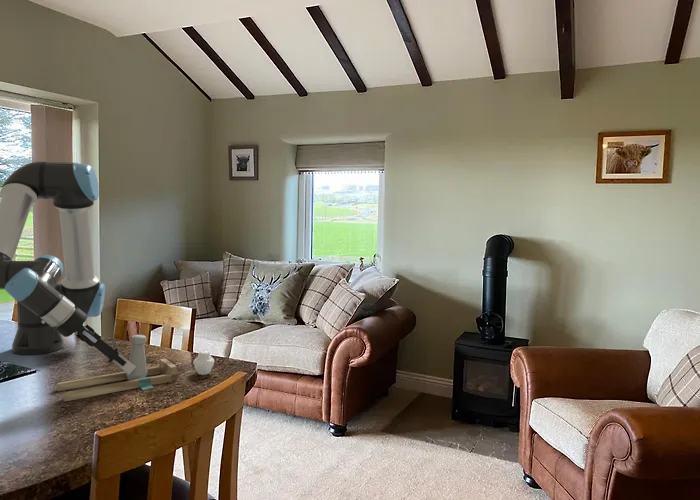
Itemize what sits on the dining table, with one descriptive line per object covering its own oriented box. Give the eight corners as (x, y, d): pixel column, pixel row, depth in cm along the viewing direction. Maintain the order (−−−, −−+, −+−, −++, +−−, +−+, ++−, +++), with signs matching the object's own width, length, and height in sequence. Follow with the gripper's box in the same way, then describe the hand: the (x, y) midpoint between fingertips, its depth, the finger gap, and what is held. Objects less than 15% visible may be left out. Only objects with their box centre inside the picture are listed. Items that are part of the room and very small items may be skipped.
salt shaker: (142, 384, 146) (144, 338, 145) (121, 382, 146) (124, 336, 145) (150, 378, 152) (152, 334, 151) (130, 377, 151) (132, 333, 151)
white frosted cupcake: (216, 374, 156) (216, 352, 155) (195, 377, 153) (196, 354, 152) (211, 368, 161) (211, 346, 161) (191, 371, 158) (191, 349, 158)
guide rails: (55, 386, 142) (54, 372, 142) (161, 368, 160) (161, 355, 160) (66, 405, 129) (66, 389, 129) (180, 383, 148) (180, 369, 147)
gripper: (49, 324, 138) (116, 375, 149) (57, 332, 128) (128, 387, 139) (71, 302, 141) (135, 354, 152) (81, 309, 131) (149, 364, 142)
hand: (132, 370), depth 146 cm, fingers closed
